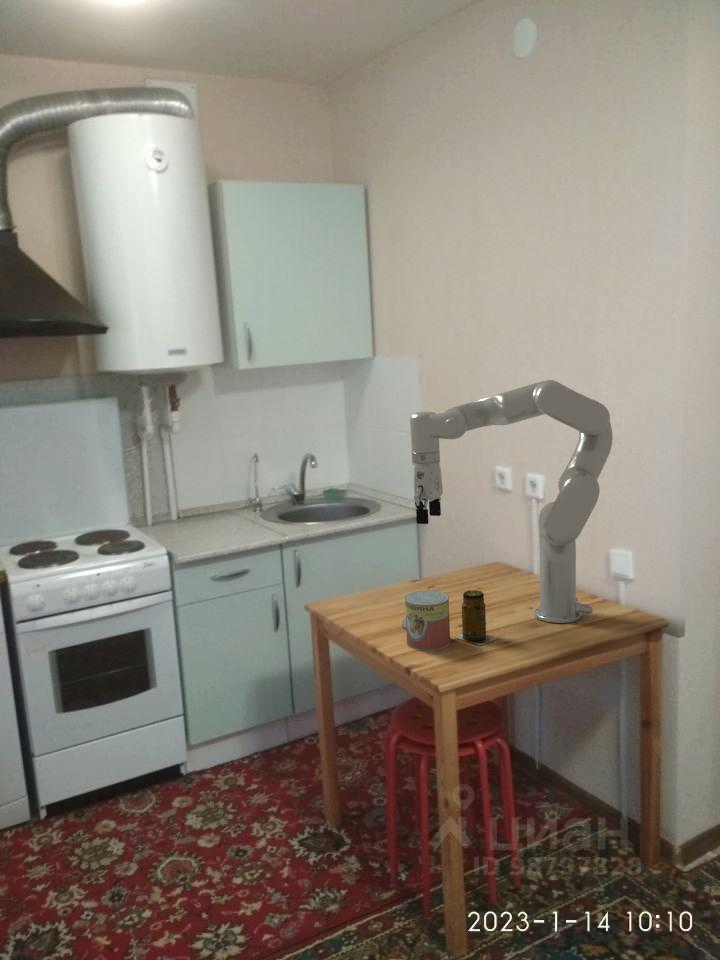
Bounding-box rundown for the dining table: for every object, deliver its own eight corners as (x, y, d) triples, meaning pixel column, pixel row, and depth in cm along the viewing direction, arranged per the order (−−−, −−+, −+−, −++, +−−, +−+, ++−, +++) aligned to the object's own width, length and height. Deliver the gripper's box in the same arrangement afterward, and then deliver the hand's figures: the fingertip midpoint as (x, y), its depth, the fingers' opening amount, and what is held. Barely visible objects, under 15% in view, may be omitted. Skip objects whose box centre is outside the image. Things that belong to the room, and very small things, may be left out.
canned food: (397, 644, 202) (395, 599, 200) (423, 631, 210) (421, 587, 208) (434, 654, 195) (432, 607, 193) (459, 639, 203) (457, 595, 201)
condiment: (473, 630, 209) (472, 587, 207) (498, 638, 203) (497, 594, 201) (454, 638, 205) (453, 593, 203) (479, 646, 198) (478, 600, 196)
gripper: (427, 463, 204) (430, 527, 207) (449, 453, 220) (452, 513, 223) (400, 463, 208) (404, 526, 211) (424, 453, 223) (427, 512, 226)
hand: (429, 519), depth 217 cm, fingers open, 9 cm apart
